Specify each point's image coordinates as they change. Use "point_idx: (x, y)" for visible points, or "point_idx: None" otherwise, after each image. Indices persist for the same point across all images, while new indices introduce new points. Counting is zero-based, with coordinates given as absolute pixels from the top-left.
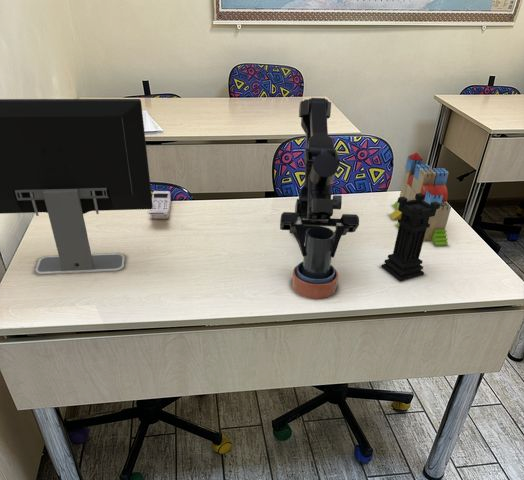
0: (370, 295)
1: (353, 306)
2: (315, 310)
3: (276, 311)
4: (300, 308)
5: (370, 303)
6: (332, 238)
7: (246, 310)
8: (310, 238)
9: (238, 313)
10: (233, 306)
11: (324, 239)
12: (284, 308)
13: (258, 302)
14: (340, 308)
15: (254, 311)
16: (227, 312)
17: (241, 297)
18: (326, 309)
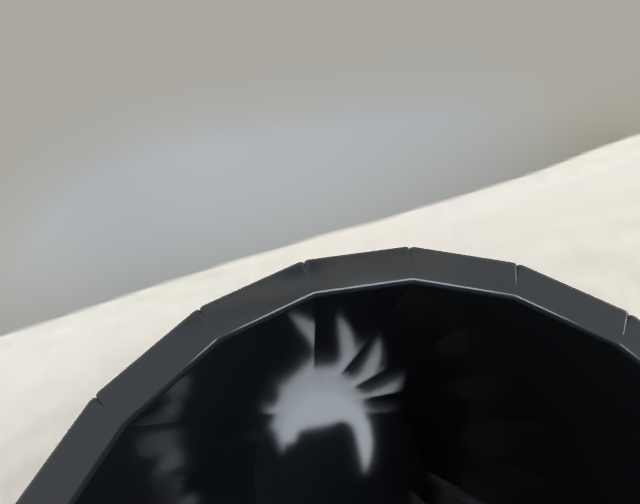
0: (11, 438)
1: (128, 309)
2: (302, 242)
3: (454, 203)
4: (366, 241)
5: (34, 355)
6: (59, 461)
7: (564, 185)
8: (604, 313)
9: (582, 164)
10: (623, 198)
11: (277, 289)
12: (430, 227)
13: (547, 243)
14: (192, 280)
15: (534, 186)
16: (621, 161)
17: (631, 262)
18: (255, 259)
